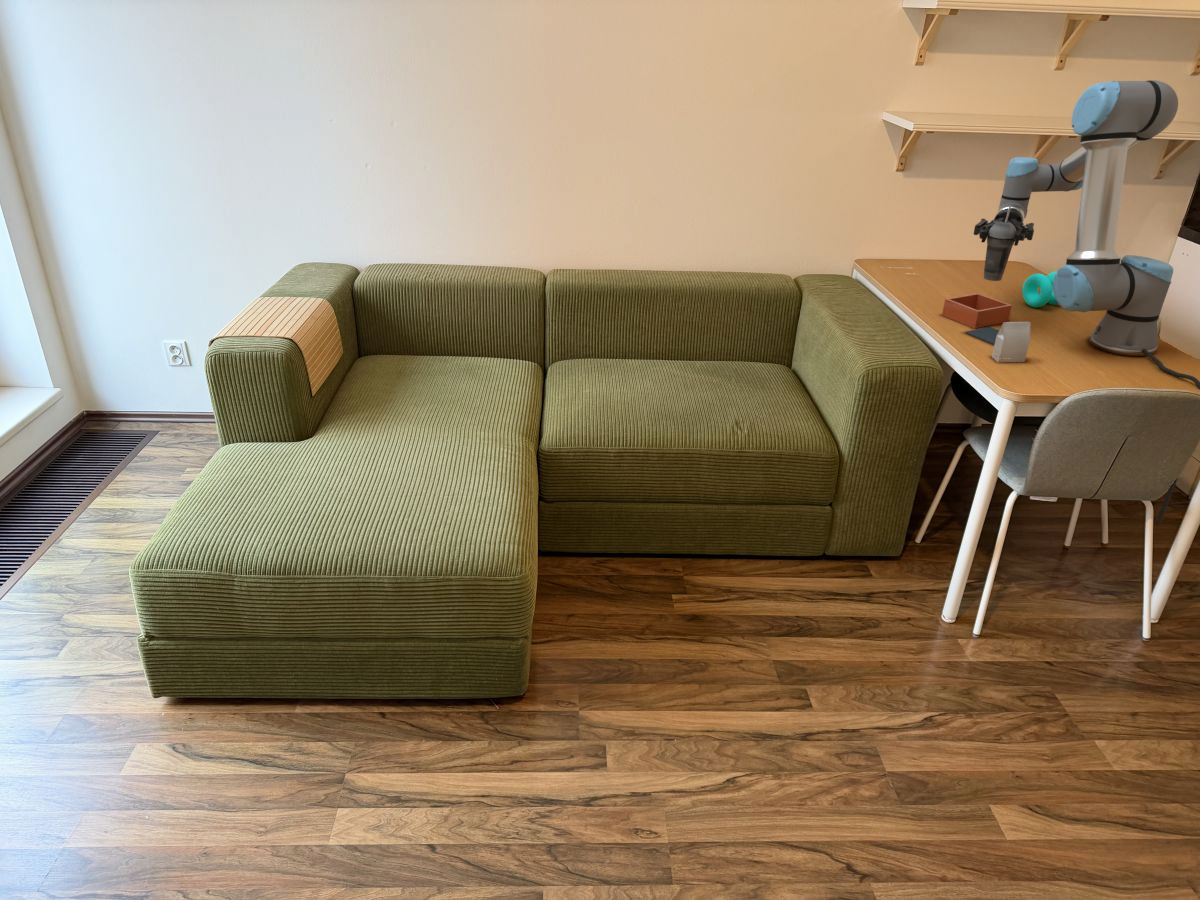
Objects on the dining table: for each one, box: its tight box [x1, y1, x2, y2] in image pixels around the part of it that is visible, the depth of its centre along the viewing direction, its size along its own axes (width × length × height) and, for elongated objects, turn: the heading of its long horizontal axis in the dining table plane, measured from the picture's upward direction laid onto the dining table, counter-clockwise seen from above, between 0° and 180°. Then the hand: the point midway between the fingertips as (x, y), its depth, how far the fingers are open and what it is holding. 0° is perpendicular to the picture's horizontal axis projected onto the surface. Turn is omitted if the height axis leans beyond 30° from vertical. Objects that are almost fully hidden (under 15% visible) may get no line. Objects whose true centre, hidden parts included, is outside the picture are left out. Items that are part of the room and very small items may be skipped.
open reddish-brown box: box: [941, 292, 1013, 329], centre depth 231 cm, size 13×13×5 cm
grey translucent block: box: [991, 321, 1032, 363], centre depth 203 cm, size 4×7×10 cm, turn 91°
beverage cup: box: [983, 205, 1017, 282], centre depth 215 cm, size 7×7×20 cm
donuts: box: [1021, 270, 1060, 308], centre depth 239 cm, size 10×10×10 cm
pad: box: [965, 326, 1000, 346], centre depth 219 cm, size 10×9×1 cm
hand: (1000, 238), depth 211 cm, fingers closed on beverage cup, 7 cm apart
